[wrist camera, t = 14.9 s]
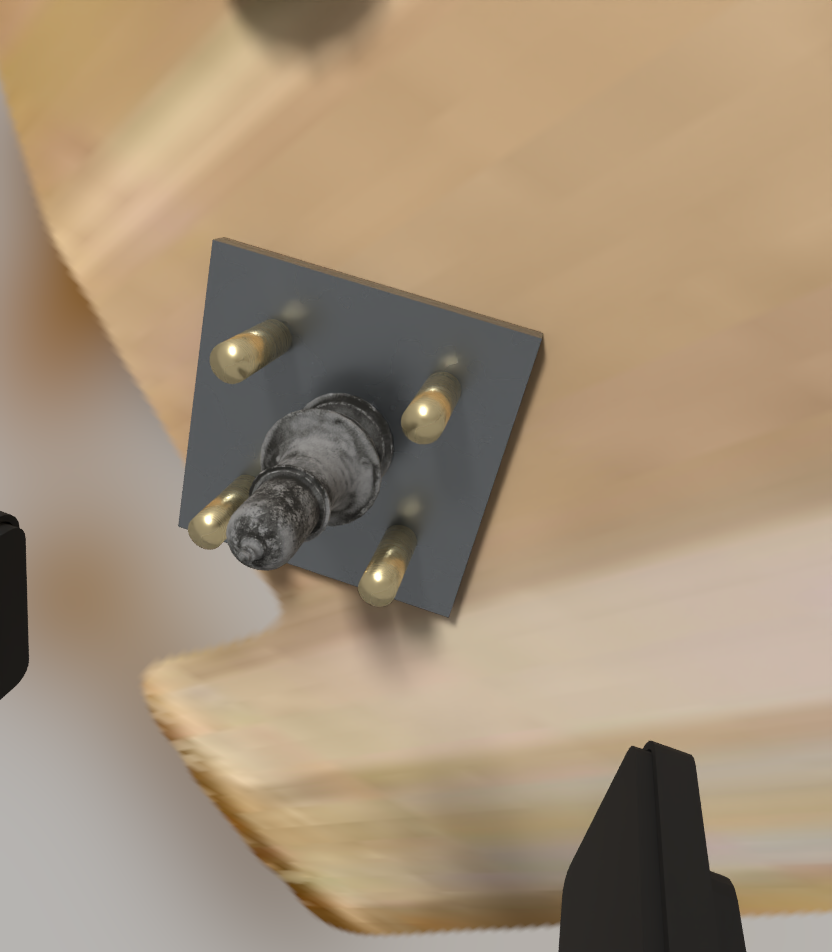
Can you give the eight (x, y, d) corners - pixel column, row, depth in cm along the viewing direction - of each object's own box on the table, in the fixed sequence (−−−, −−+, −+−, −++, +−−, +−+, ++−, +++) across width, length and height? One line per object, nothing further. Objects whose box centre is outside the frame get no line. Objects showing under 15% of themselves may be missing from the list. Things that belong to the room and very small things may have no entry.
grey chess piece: (423, 454, 36) (353, 579, 25) (341, 515, 38) (245, 654, 27) (344, 362, 35) (236, 452, 24) (265, 432, 37) (135, 541, 26)
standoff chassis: (543, 333, 34) (536, 366, 28) (452, 605, 40) (432, 676, 35) (224, 237, 35) (157, 251, 29) (188, 517, 42) (128, 571, 36)
